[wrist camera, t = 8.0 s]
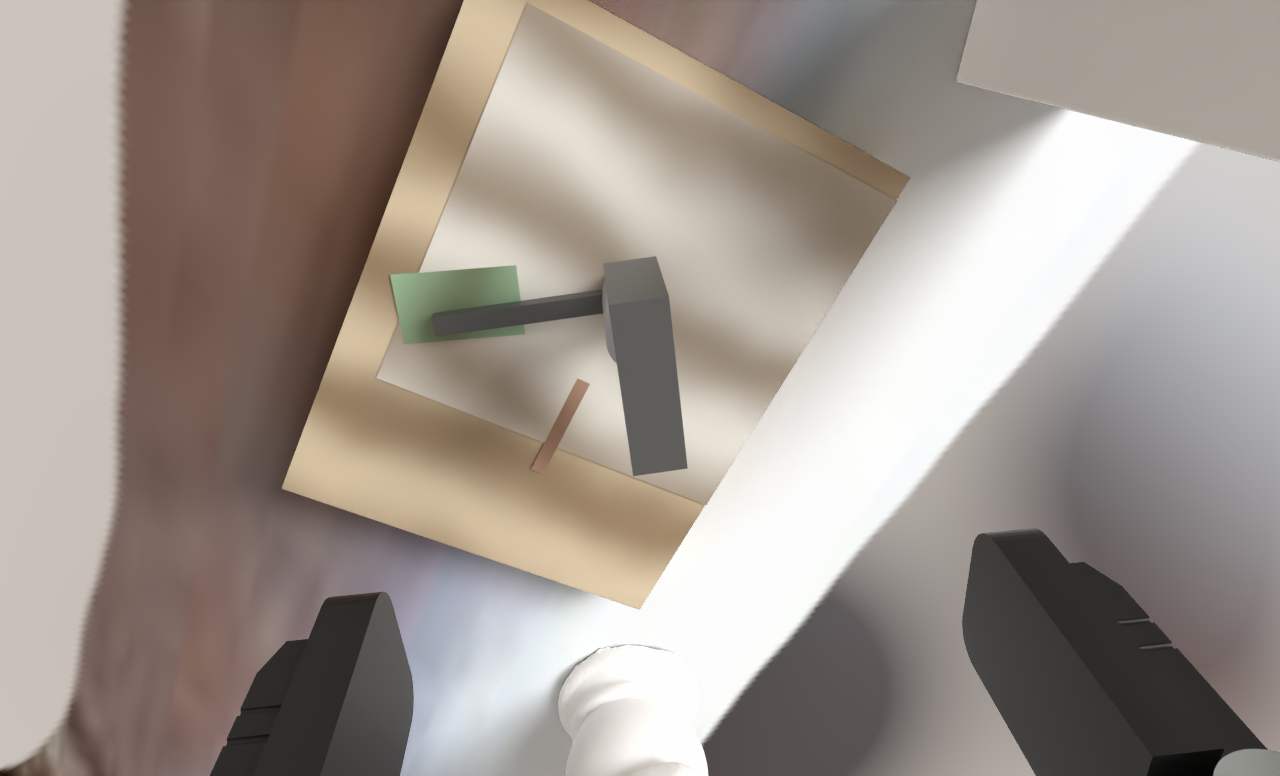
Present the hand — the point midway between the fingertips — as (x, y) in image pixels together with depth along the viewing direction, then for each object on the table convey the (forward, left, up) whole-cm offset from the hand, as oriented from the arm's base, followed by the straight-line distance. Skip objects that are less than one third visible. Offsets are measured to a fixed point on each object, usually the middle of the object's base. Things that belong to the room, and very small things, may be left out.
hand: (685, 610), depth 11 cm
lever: (+5, -1, -23) cm, 23 cm away
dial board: (+6, +1, -27) cm, 28 cm away
